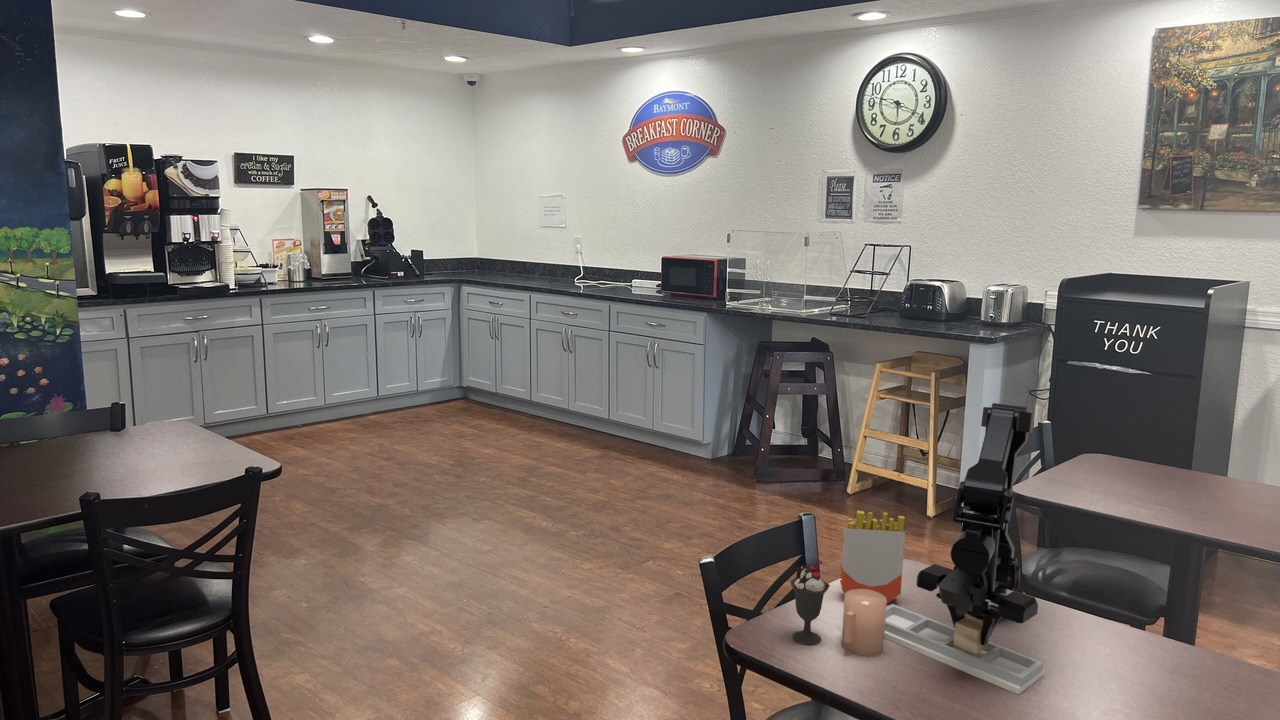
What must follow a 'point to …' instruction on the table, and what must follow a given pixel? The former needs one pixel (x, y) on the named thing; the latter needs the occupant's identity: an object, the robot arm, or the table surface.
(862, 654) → the terracotta mug
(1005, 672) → the board
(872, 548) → the french fries container
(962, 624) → the beech block
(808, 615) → the sundae
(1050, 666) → the table surface
